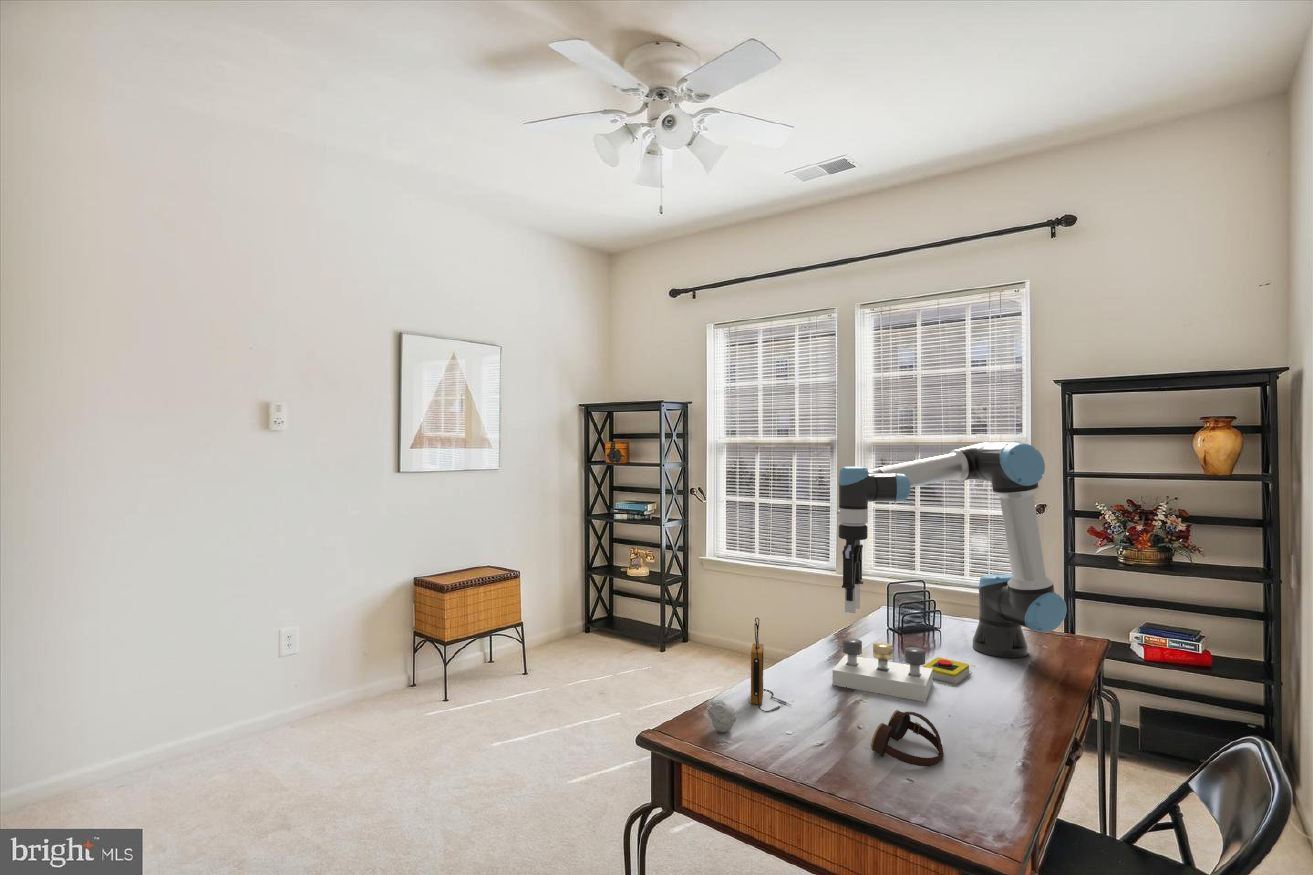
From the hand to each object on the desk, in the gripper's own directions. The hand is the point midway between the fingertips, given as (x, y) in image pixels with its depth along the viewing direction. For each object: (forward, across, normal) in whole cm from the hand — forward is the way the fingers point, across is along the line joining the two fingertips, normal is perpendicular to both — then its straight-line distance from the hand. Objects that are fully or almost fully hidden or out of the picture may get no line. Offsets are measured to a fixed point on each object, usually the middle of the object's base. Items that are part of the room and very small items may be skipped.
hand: (852, 609), depth 185 cm
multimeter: (+19, +25, -14) cm, 34 cm away
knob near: (+16, 0, +16) cm, 22 cm away
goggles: (+19, +37, +20) cm, 46 cm away
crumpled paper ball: (+19, +47, -18) cm, 54 cm away
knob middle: (+16, 0, +8) cm, 18 cm away
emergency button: (+19, -16, +22) cm, 33 cm away
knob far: (+16, 0, 0) cm, 16 cm away
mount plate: (+19, 0, +8) cm, 20 cm away
